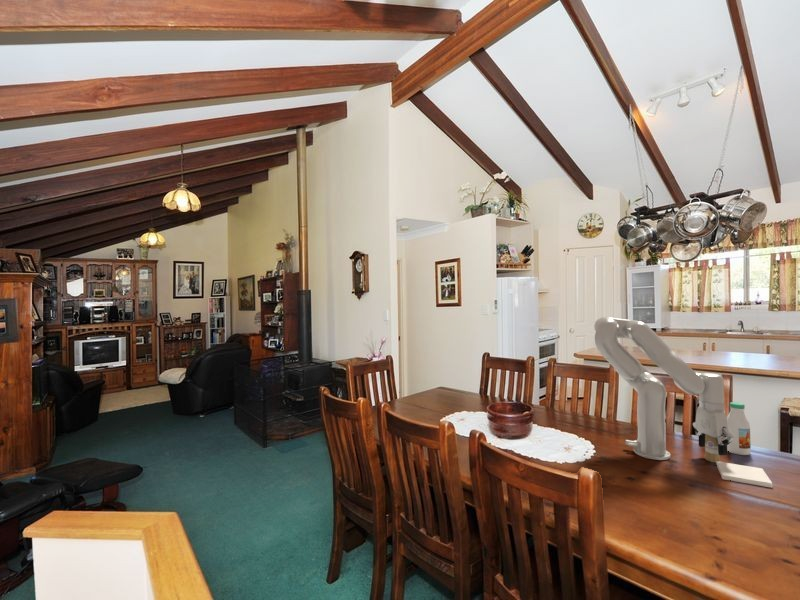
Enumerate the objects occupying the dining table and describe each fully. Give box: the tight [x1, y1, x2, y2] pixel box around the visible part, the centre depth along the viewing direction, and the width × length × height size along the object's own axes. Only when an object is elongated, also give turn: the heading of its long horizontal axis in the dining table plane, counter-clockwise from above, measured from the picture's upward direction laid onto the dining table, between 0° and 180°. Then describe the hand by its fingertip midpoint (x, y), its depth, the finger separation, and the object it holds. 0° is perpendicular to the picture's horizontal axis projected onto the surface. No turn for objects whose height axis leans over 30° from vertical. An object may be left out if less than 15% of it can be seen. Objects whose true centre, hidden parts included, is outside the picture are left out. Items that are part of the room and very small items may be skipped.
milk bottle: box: [726, 401, 752, 456], centre depth 158 cm, size 8×8×20 cm
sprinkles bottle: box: [704, 434, 721, 463], centre depth 151 cm, size 5×5×14 cm
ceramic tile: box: [715, 461, 774, 489], centre depth 138 cm, size 13×13×2 cm
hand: (712, 450), depth 151 cm, fingers open, 7 cm apart
